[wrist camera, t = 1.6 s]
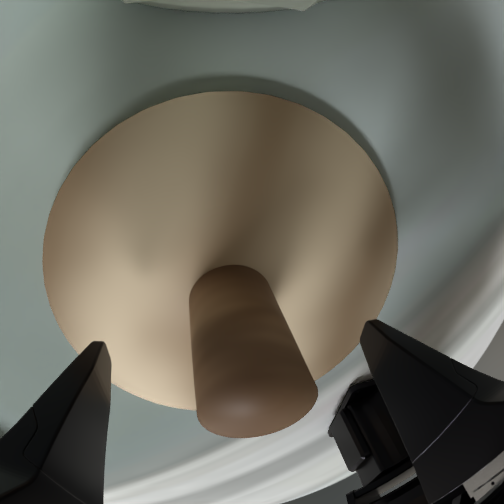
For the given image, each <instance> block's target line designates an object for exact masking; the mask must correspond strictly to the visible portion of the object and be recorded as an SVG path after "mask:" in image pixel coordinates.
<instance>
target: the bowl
mask: <svg viewBox="0 0 504 504" xmlns="http://www.w3.org/2000/svg"><path fill="white" fill-rule="evenodd" d="M122 1H123V2H124V3H125V4H127V3H139V4H145V5H150V6H155V7H159V8H167V9H175V10H182V11H194V12H208V13H251V12H269V11H277V10H287V9H294V10H299V11H305V10H306V9H308V8H310V7H311V6H313V5H315V4H317V3H319V2H323V1H326V0H122Z"/></svg>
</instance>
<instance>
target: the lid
mask: <svg viewBox="0 0 504 504" xmlns="http://www.w3.org/2000/svg"><path fill="white" fill-rule="evenodd" d="M397 251H398V235H397V224H396V218H395V212H394V208H393V204H392V201H391V198H390V195H389V192H388V189H387V187H386V185H385V183H384V181H383V179H382V177H381V175H380V173H379V171H378V169H377V168H376V166H375V165H374V163H373V162H372V161H371V159H370V158H369V156H368V155H367V154H366V152H365V151H364V150H363V149H362V148H361V147H360V146H359V145H358V144H357V143H356V142H355V141H354V140H353V139H352V138H351V137H350V136H349V135H348V134H347V133H346V132H345V131H344V130H342V129H341V128H340V127H338V126H337V125H335V124H334V123H333V122H331V121H330V120H329V119H327V118H326V117H324V116H322V115H320V114H318V113H316V112H314V111H312V110H310V109H308V108H306V107H304V106H302V105H300V104H297V103H294V102H291V101H288V100H285V99H281V98H278V97H275V96H271V95H265V94H258V93H251V92H244V91H217V92H204V93H198V94H193V95H188V96H183V97H178V98H174V99H171V100H168V101H165V102H163V103H160V104H157V105H155V106H152V107H149V108H147V109H144V110H143V111H141V112H139V113H137V114H135V115H134V116H132V117H130V118H128V119H126V120H125V121H123V122H121V123H120V124H118V125H116V126H115V127H114V128H113V129H111V130H110V131H109V132H108V133H106V134H105V135H104V136H103V137H102V138H100V139H99V140H98V141H97V142H96V143H94V144H93V145H92V146H91V147H90V149H89V150H88V151H87V152H86V153H85V154H84V155H83V156H82V158H81V159H80V160H79V161H78V162H77V163H76V165H75V166H74V167H73V169H72V170H71V172H70V173H69V175H68V176H67V178H66V180H65V181H64V183H63V185H62V186H61V188H60V190H59V192H58V194H57V197H56V199H55V201H54V204H53V206H52V209H51V211H50V214H49V218H48V222H47V226H46V231H45V236H44V243H43V274H44V283H45V288H46V292H47V296H48V300H49V303H50V306H51V309H52V311H53V314H54V316H55V318H56V321H57V323H58V325H59V327H60V328H61V330H62V332H63V333H64V335H65V337H66V338H67V340H68V341H69V343H70V344H71V345H72V347H73V348H74V349H75V350H76V352H77V353H78V354H80V353H81V352H82V351H83V350H84V349H85V348H86V347H87V346H88V345H89V344H90V343H91V342H92V341H104V342H105V343H106V346H107V349H108V352H109V355H110V358H111V363H112V369H111V383H113V384H115V385H116V386H118V387H120V388H121V389H123V390H125V391H127V392H129V393H131V394H133V395H136V396H138V397H140V398H143V399H145V400H148V401H151V402H154V403H157V404H161V405H165V406H170V407H174V408H180V409H188V410H197V417H198V420H199V422H200V424H201V425H202V426H203V427H204V428H206V429H207V430H208V431H210V432H212V433H215V434H217V435H221V436H225V437H231V438H251V437H258V436H263V435H267V434H271V433H274V432H277V431H280V430H282V429H284V428H287V427H289V426H290V425H292V424H294V423H296V422H297V421H299V420H300V419H301V418H303V417H304V416H305V415H306V414H307V413H308V412H309V411H310V410H311V409H312V407H313V406H314V404H315V402H316V400H317V397H318V389H317V386H316V384H315V382H314V381H316V380H317V379H319V378H320V377H322V376H323V375H325V374H326V373H327V372H329V371H330V370H331V369H333V368H334V367H335V366H336V365H337V364H339V363H340V362H341V361H342V360H343V359H344V358H345V357H346V356H347V355H348V354H349V353H350V352H351V351H352V350H353V349H354V348H355V347H356V346H357V345H358V344H359V342H360V336H361V333H362V330H363V327H364V324H365V322H366V321H368V320H373V319H377V317H378V315H379V313H380V311H381V309H382V307H383V305H384V303H385V301H386V298H387V295H388V293H389V290H390V288H391V284H392V280H393V276H394V272H395V268H396V260H397Z"/></svg>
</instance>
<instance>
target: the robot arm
mask: <svg viewBox="0 0 504 504" xmlns="http://www.w3.org/2000/svg"><path fill="white" fill-rule="evenodd" d="M360 344H361V347H362V349H363V352H364V355H365V357H366V360H367V363H368V366H369V368H370V371H371V374H372V376H373V378H374V380H371V381H367V382H363V383H360V384H356V385H354V386H352V387H351V388H350V389H349V390H348V393H347V395H346V397H345V399H344V401H343V403H342V405H341V407H340V409H339V411H338V413H337V415H336V417H335V419H334V421H333V423H332V425H331V426H330V428H329V430H328V434H329V436H330V437H334V439H335V441H336V443H337V446H338V448H339V450H340V452H341V454H342V457H343V459H344V461H345V463H346V466H347V468H348V470H349V471H351V472H354V471H356V472H357V474H358V476H359V478H360V480H361V483H362V485H363V487H362V488H360V489H358V490H353V491H351V492H350V493H348V494H346V497H347V502H348V504H504V381H501V380H498V379H495V378H493V377H491V376H488V375H486V374H484V373H481V372H479V371H477V370H474V369H472V368H470V367H468V366H466V365H464V364H462V363H460V362H458V361H456V360H454V359H452V358H451V359H450V357H448V356H446V355H444V354H442V353H440V352H438V351H437V350H435V349H433V348H431V347H429V346H427V345H425V344H423V343H421V342H419V341H417V340H416V339H414V338H412V337H410V336H408V335H406V334H404V333H402V332H400V331H398V330H396V329H395V328H393V327H391V326H389V325H387V324H385V323H383V322H381V321H379V320H377V319H373V320H368V321H366V322H365V324H364V327H363V330H362V333H361V336H360ZM111 369H112V363H111V358H110V355H109V352H108V349H107V346H106V343H105V342H104V341H92V342H91V343H90V344H89V345H88V346H87V347H86V348H85V349H84V350H83V351H82V352H81V353H80V354H79V355H78V357H77V358H76V359H75V360H74V361H73V362H72V363H71V364H70V365H69V366H68V367H67V368H66V369H65V370H64V371H63V372H62V374H61V375H60V376H59V377H58V378H57V379H56V380H55V381H54V382H53V383H52V384H51V385H50V387H49V388H48V389H47V390H46V391H45V392H44V393H43V394H42V395H41V396H40V398H39V399H38V400H37V401H36V402H35V403H34V404H33V407H31V408H30V409H29V410H28V411H27V412H26V413H25V414H24V416H23V417H22V418H21V419H20V420H19V421H18V422H17V423H16V424H15V425H14V426H13V427H12V428H11V429H10V430H9V431H8V432H7V433H6V434H5V435H4V436H3V437H2V438H1V439H0V504H103V492H104V468H105V453H106V441H107V431H108V422H109V413H110V401H111ZM415 473H416V474H417V477H415V478H414V479H412V480H411V481H409V482H407V483H406V484H404V485H402V486H401V487H399V488H397V489H395V490H394V491H392V492H390V493H388V494H387V495H385V496H383V497H380V494H381V493H383V492H385V491H387V490H389V489H390V488H392V487H394V486H395V485H397V484H399V483H401V482H402V481H404V480H406V479H407V478H409V477H410V476H412V475H414V474H415Z"/></svg>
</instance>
